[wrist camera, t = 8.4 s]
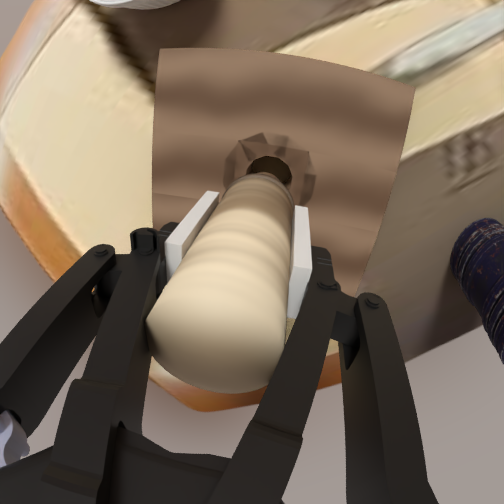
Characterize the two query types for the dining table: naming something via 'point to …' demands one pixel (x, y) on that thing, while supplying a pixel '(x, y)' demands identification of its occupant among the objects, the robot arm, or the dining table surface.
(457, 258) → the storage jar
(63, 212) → the dining table surface
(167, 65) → the walnut board
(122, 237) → the dining table surface
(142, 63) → the dining table surface
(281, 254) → the beech leg
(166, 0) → the ramekin
